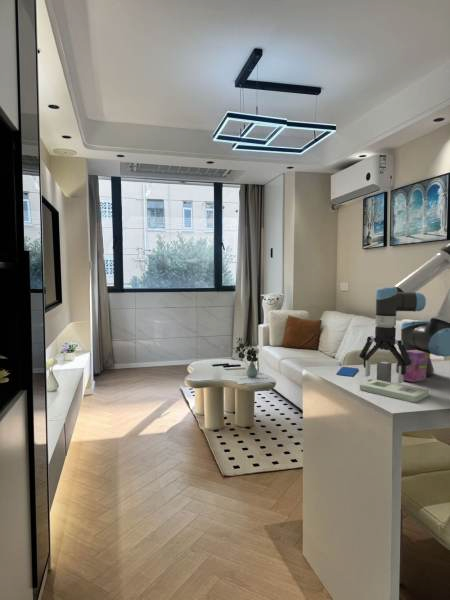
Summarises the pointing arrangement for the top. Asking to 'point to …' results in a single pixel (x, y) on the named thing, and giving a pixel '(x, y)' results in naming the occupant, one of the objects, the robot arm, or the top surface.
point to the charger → (384, 371)
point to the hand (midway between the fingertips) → (383, 379)
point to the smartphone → (347, 371)
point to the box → (416, 366)
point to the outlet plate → (395, 390)
